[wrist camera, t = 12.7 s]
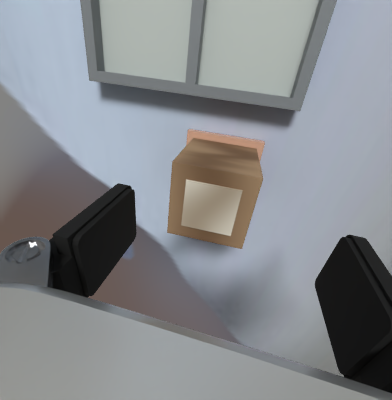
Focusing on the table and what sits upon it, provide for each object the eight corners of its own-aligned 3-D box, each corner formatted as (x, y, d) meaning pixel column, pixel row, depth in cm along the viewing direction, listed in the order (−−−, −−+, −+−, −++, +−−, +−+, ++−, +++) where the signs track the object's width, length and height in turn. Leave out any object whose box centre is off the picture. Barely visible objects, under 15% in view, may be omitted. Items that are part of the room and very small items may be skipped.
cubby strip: (346, -50, 12) (358, -64, 10) (295, 109, 15) (300, 111, 14) (85, -68, 13) (71, -82, 12) (99, 80, 17) (89, 80, 16)
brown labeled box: (256, 148, 17) (263, 179, 11) (241, 203, 19) (241, 250, 14) (193, 137, 17) (171, 162, 12) (186, 192, 20) (166, 233, 14)
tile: (264, 141, 17) (264, 143, 16) (246, 206, 20) (246, 209, 19) (189, 128, 18) (187, 130, 17) (183, 193, 20) (181, 196, 20)
